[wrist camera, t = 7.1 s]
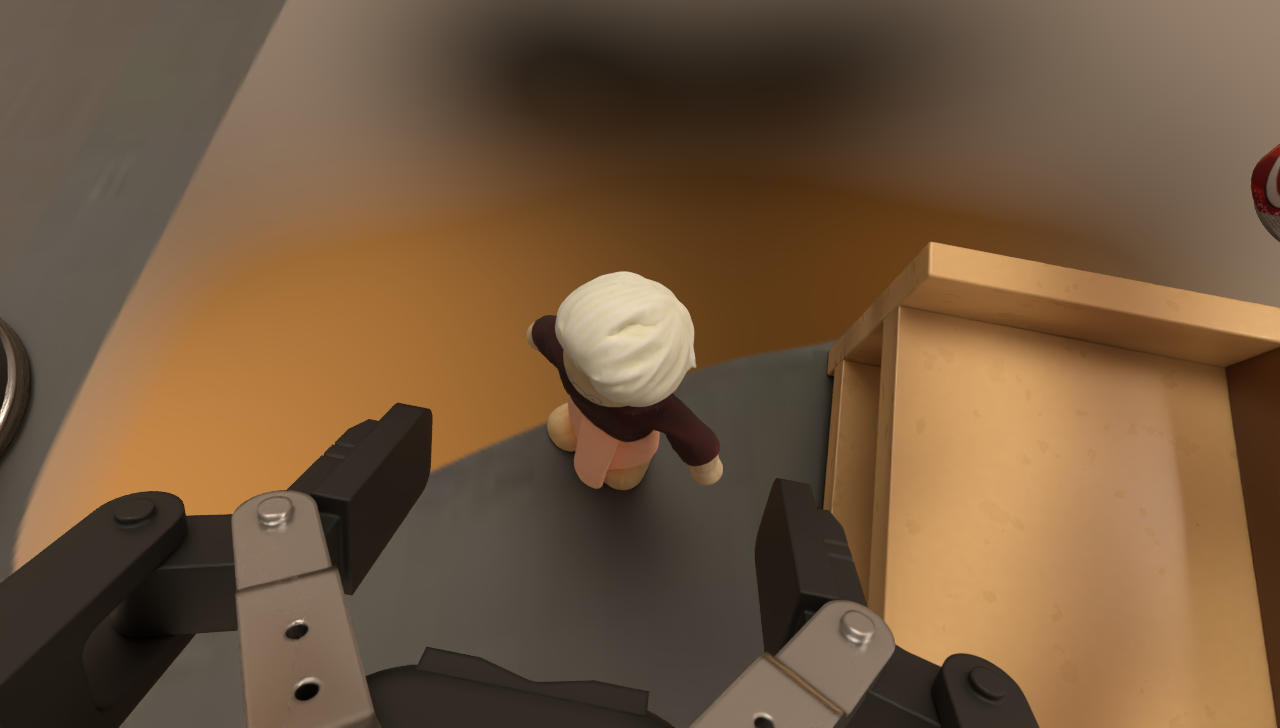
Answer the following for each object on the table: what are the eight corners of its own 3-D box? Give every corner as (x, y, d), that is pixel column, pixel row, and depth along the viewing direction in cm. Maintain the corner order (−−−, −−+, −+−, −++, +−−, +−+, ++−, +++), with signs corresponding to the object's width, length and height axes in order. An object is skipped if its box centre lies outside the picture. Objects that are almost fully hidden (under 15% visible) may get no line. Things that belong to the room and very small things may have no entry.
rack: (791, 774, 22) (910, 888, 13) (828, 349, 27) (930, 239, 19) (1123, 840, 22) (1454, 997, 13) (1093, 400, 27) (1313, 312, 19)
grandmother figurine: (505, 443, 25) (417, 307, 13) (554, 364, 26) (515, 174, 15) (677, 538, 24) (748, 483, 12) (720, 451, 26) (822, 326, 14)
